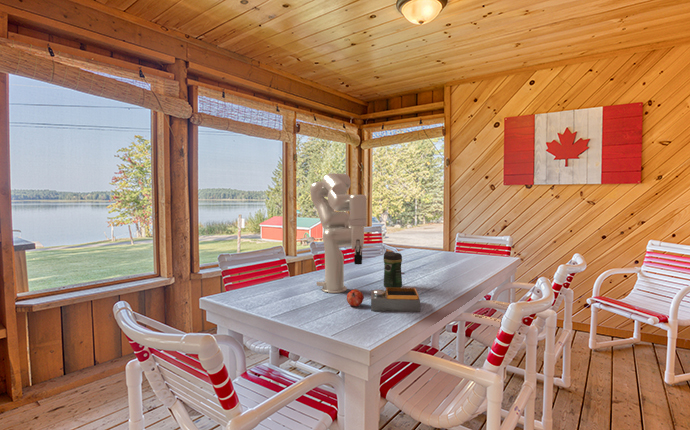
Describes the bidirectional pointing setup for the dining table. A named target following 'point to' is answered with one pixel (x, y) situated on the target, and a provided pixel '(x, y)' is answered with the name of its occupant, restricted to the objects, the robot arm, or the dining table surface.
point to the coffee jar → (392, 270)
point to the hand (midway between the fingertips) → (358, 262)
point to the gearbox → (395, 300)
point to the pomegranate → (355, 298)
